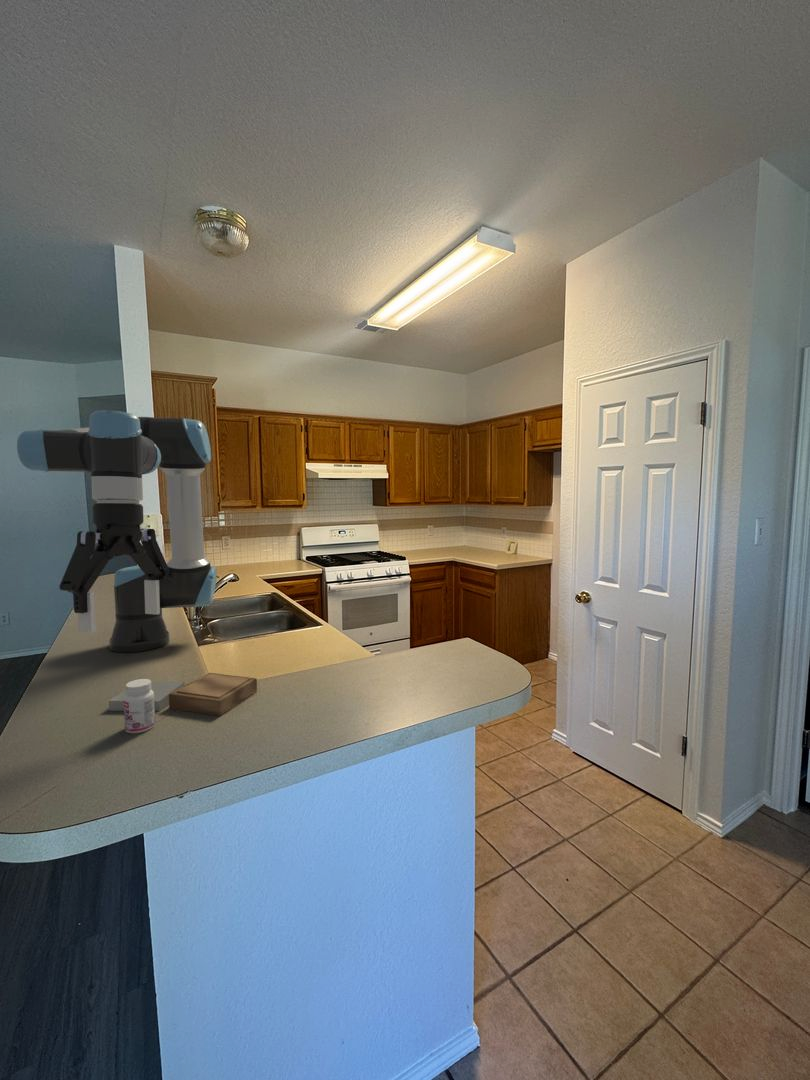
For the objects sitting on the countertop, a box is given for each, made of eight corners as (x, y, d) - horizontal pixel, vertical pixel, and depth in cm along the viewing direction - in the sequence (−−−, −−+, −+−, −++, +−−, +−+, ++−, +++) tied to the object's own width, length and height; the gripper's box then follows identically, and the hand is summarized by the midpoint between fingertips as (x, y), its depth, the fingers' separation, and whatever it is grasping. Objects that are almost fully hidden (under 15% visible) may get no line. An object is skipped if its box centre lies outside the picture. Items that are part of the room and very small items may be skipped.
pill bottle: (118, 733, 81) (116, 687, 80) (137, 720, 85) (135, 677, 85) (142, 735, 80) (141, 688, 79) (160, 722, 85) (159, 678, 84)
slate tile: (139, 690, 99) (138, 681, 99) (184, 690, 99) (184, 681, 99) (109, 710, 89) (108, 700, 89) (159, 711, 89) (159, 701, 89)
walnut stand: (210, 685, 102) (209, 671, 102) (256, 691, 99) (256, 677, 99) (169, 708, 91) (168, 692, 90) (220, 716, 87) (220, 699, 87)
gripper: (156, 503, 92) (159, 606, 94) (26, 500, 68) (33, 639, 70) (187, 503, 91) (190, 608, 92) (65, 500, 66) (71, 643, 68)
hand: (122, 622), depth 81 cm, fingers open, 13 cm apart
